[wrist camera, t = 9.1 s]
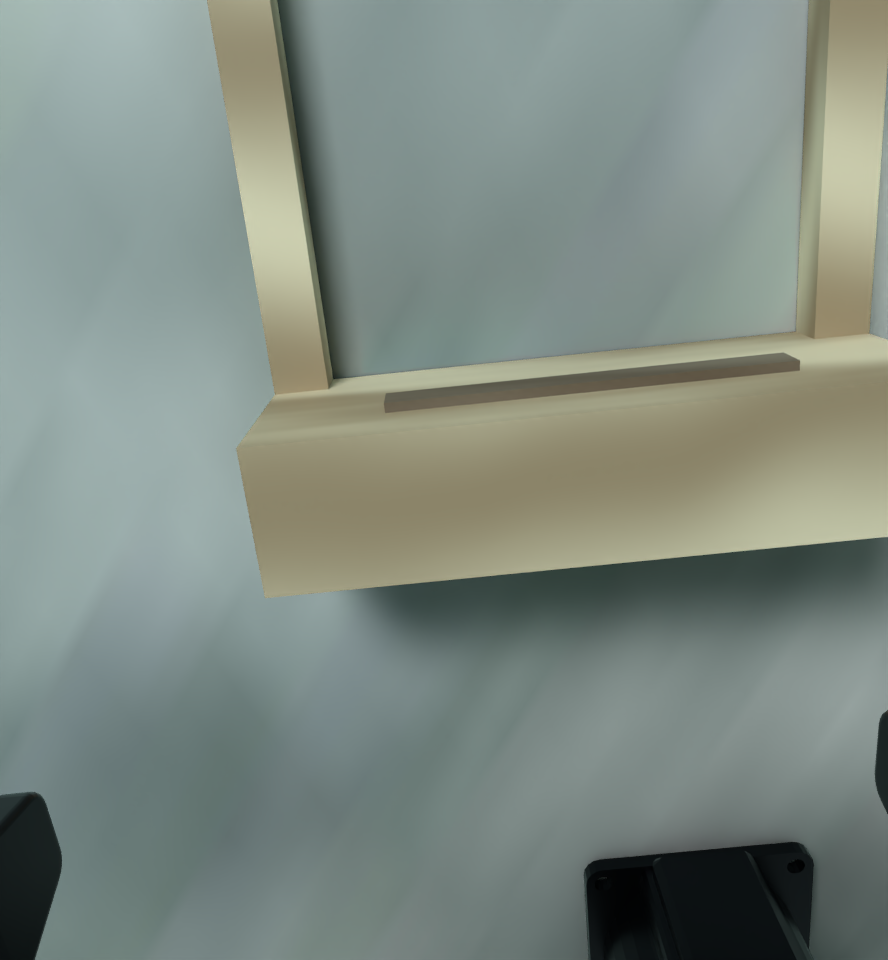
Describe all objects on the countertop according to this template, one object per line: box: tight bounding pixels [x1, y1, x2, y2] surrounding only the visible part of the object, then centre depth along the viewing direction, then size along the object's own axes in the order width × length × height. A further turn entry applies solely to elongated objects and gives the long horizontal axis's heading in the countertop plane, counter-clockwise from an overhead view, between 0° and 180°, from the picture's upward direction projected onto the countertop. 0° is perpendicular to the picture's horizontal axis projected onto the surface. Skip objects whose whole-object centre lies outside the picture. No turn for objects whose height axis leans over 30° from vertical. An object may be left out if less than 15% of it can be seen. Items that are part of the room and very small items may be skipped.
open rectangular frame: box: [207, 0, 888, 598], centre depth 16 cm, size 15×13×5 cm
